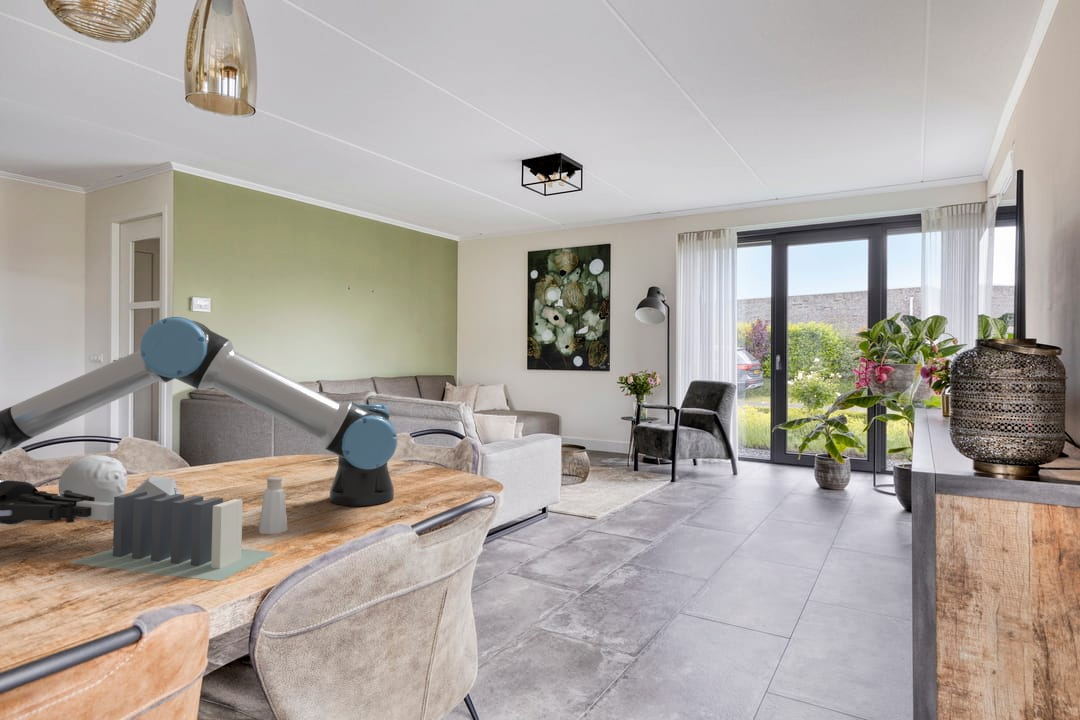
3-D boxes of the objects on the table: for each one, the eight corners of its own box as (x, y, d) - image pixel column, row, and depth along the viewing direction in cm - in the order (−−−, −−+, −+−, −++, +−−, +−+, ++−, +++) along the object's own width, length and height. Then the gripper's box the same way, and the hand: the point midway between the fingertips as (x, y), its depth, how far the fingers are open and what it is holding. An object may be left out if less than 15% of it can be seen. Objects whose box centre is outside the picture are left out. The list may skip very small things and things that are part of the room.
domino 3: (150, 560, 101) (152, 500, 101) (174, 551, 106) (176, 493, 105) (159, 561, 100) (160, 501, 100) (182, 552, 105) (184, 494, 105)
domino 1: (112, 556, 102) (114, 496, 102) (138, 547, 107) (139, 490, 107) (120, 557, 102) (122, 497, 102) (145, 548, 107) (147, 491, 107)
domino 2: (132, 558, 101) (133, 498, 101) (156, 549, 106) (158, 492, 106) (140, 559, 101) (141, 499, 101) (164, 550, 106) (165, 492, 106)
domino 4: (170, 562, 100) (172, 502, 100) (193, 553, 105) (195, 495, 105) (179, 563, 100) (180, 503, 99) (201, 554, 104) (203, 496, 104)
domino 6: (211, 567, 98) (212, 505, 98) (232, 557, 103) (234, 499, 103) (219, 568, 98) (221, 506, 98) (241, 558, 103) (242, 499, 103)
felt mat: (69, 566, 99) (69, 562, 99) (142, 541, 112) (142, 538, 112) (219, 585, 93) (219, 581, 93) (277, 556, 107) (277, 552, 107)
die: (143, 525, 125) (177, 485, 127) (113, 501, 126) (147, 463, 129) (165, 528, 132) (197, 491, 135) (136, 506, 134) (168, 469, 137)
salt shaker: (290, 528, 123) (292, 474, 123) (284, 536, 118) (285, 479, 117) (262, 529, 122) (263, 474, 122) (254, 537, 117) (256, 480, 117)
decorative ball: (104, 518, 126) (106, 461, 126) (43, 518, 125) (44, 460, 125) (138, 504, 138) (139, 451, 138) (82, 503, 137) (83, 450, 137)
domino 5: (190, 565, 99) (192, 504, 99) (213, 555, 104) (214, 497, 104) (199, 566, 99) (200, 504, 99) (221, 556, 104) (222, 497, 104)
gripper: (38, 513, 116) (142, 523, 111) (-40, 532, 103) (74, 545, 98) (39, 473, 116) (143, 482, 111) (-39, 488, 103) (75, 498, 98)
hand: (111, 512), depth 105 cm, fingers closed
